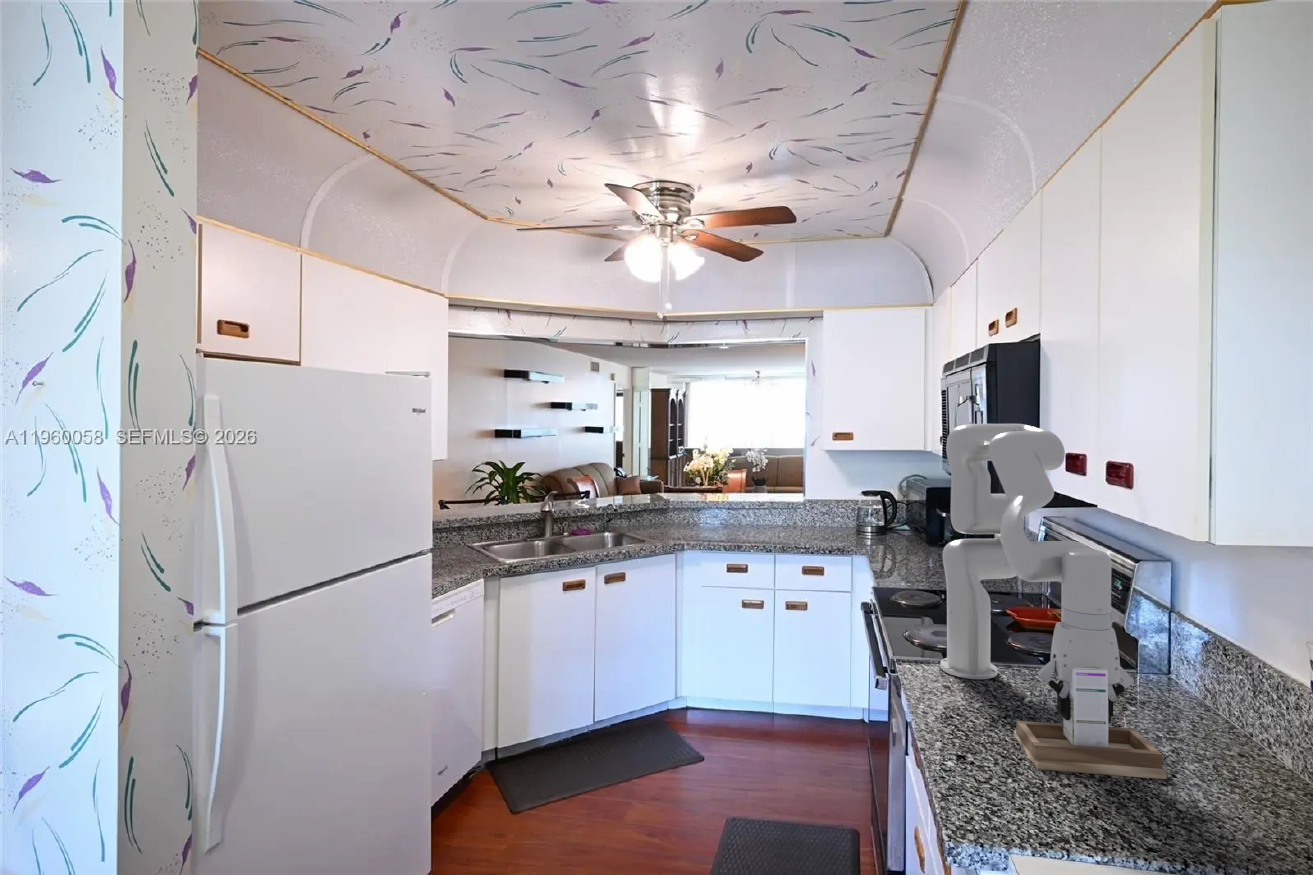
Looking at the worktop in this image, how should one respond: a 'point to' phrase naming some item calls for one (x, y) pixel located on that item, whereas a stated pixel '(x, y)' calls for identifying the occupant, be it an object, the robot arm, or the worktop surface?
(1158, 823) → the worktop surface
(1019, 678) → the worktop surface
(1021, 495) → the robot arm
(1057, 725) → the brown wooden tray
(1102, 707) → the syrup box
